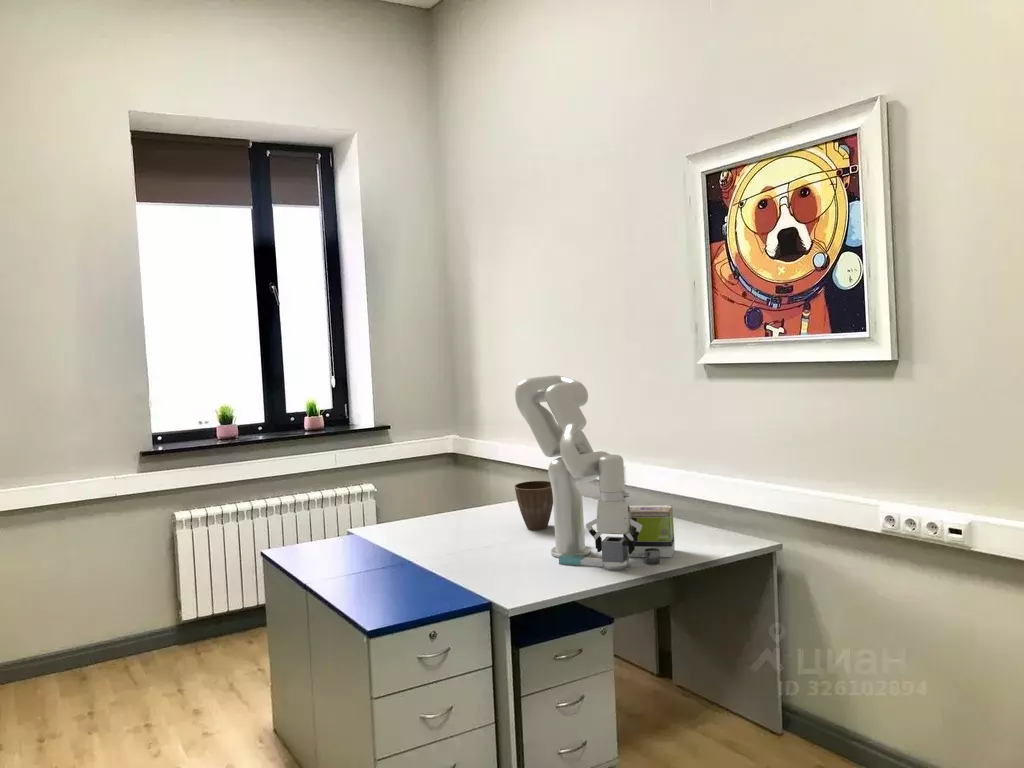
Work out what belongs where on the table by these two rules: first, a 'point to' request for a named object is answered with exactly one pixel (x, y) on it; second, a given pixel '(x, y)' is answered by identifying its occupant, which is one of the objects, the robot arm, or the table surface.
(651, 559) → the socket
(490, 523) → the table surface
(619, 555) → the socket
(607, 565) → the ratchet
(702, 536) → the table surface
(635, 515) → the tea box
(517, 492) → the plant pot
